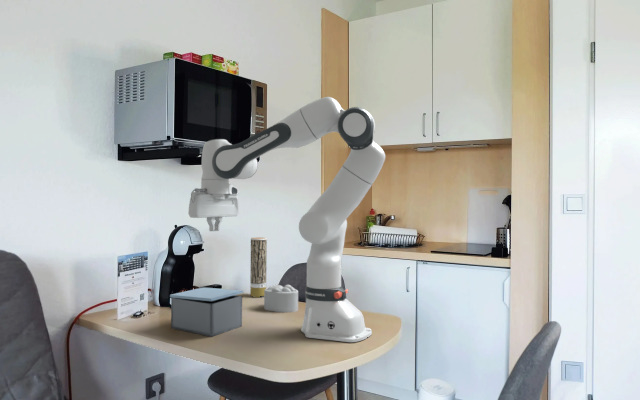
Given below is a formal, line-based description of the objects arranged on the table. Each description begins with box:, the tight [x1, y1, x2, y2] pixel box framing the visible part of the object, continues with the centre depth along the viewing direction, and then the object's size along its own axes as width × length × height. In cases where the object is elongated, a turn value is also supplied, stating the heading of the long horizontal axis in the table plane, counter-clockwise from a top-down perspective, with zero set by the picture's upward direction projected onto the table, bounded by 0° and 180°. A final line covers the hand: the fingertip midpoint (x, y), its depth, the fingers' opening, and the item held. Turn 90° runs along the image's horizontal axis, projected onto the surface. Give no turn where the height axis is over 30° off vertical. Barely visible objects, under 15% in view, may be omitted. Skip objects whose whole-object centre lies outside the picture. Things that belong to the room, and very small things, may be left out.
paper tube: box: [249, 236, 268, 298], centre depth 198 cm, size 7×7×25 cm
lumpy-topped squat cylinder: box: [263, 284, 299, 313], centre depth 176 cm, size 10×13×9 cm
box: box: [170, 294, 243, 338], centre depth 150 cm, size 18×14×10 cm
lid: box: [169, 287, 244, 301], centre depth 150 cm, size 18×15×1 cm
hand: (214, 231), depth 151 cm, fingers closed
